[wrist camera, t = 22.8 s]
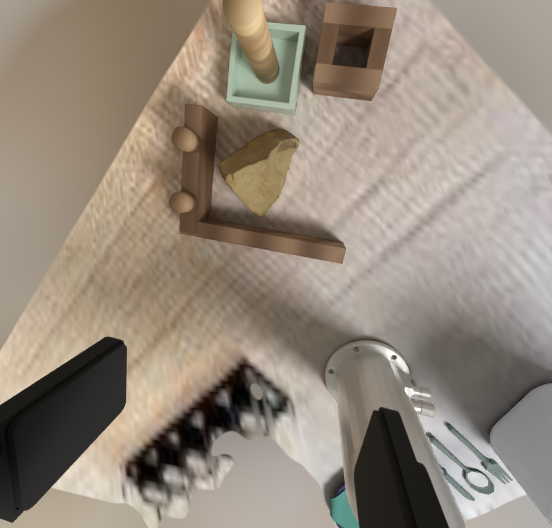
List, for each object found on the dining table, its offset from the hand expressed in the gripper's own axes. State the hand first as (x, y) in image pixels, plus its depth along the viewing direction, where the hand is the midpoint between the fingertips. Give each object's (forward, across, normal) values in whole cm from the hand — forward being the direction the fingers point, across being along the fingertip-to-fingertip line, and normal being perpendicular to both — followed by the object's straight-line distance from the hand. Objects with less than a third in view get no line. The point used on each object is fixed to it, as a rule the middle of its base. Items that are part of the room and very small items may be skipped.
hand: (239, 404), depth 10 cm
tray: (+29, +8, -21) cm, 37 cm away
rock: (+30, +6, -10) cm, 32 cm away
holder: (+29, -1, -23) cm, 37 cm away
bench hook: (+29, +5, -8) cm, 31 cm away
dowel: (+28, +8, -21) cm, 36 cm away
